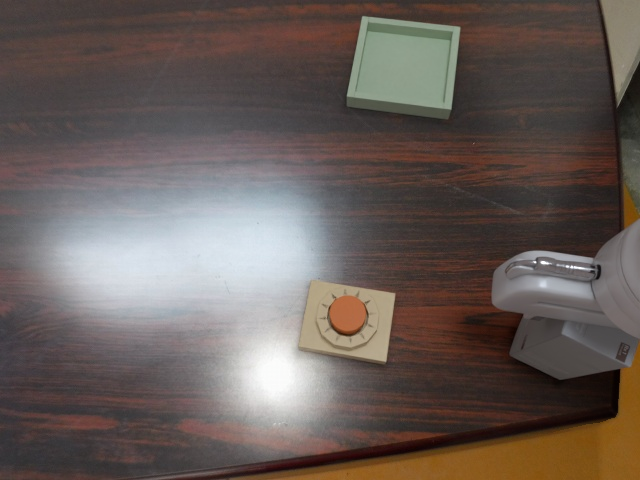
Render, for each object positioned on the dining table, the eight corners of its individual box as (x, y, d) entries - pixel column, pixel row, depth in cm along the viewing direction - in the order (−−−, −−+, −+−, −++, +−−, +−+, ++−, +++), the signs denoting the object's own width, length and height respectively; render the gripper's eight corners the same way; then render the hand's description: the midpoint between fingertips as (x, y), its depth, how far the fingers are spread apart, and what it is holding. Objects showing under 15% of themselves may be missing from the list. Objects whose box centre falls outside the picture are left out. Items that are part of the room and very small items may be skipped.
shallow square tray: (457, 38, 78) (460, 26, 75) (448, 119, 73) (451, 109, 71) (361, 28, 79) (362, 15, 77) (346, 106, 74) (346, 96, 72)
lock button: (368, 302, 60) (368, 298, 59) (362, 337, 59) (363, 334, 57) (333, 296, 61) (332, 292, 59) (327, 331, 59) (326, 327, 58)
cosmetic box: (530, 294, 64) (584, 247, 49) (589, 321, 62) (663, 281, 47) (504, 358, 61) (553, 329, 46) (566, 388, 60) (636, 367, 45)
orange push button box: (394, 298, 64) (397, 288, 60) (384, 364, 61) (387, 359, 58) (312, 284, 65) (310, 274, 61) (299, 349, 62) (296, 343, 59)
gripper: (516, 297, 39) (470, 333, 52) (813, 346, 37) (689, 370, 50) (520, 218, 41) (475, 272, 54) (801, 261, 39) (685, 305, 52)
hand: (580, 319), depth 52 cm, fingers open, 8 cm apart
